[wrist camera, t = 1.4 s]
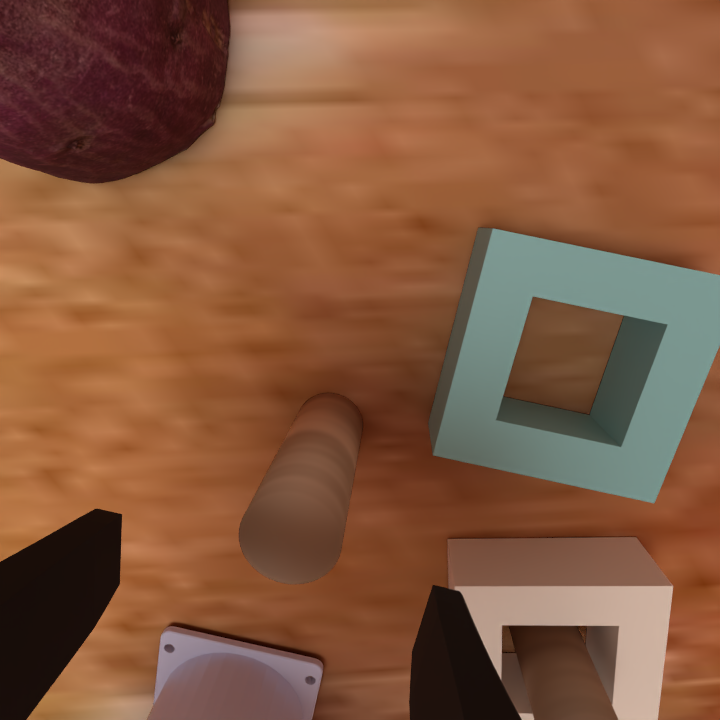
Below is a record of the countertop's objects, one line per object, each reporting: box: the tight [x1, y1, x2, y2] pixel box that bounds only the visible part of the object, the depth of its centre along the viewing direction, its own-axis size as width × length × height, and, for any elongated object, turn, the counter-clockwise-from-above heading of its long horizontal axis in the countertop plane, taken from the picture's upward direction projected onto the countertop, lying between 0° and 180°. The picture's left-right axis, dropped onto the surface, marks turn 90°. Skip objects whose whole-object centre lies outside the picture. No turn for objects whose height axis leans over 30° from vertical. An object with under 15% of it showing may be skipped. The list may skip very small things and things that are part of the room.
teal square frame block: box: [428, 228, 720, 503], centre depth 18 cm, size 8×8×3 cm
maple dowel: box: [239, 393, 363, 584], centre depth 17 cm, size 3×3×8 cm
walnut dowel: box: [509, 625, 618, 720], centre depth 20 cm, size 3×3×6 cm
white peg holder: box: [447, 537, 673, 720], centre depth 21 cm, size 8×8×3 cm
